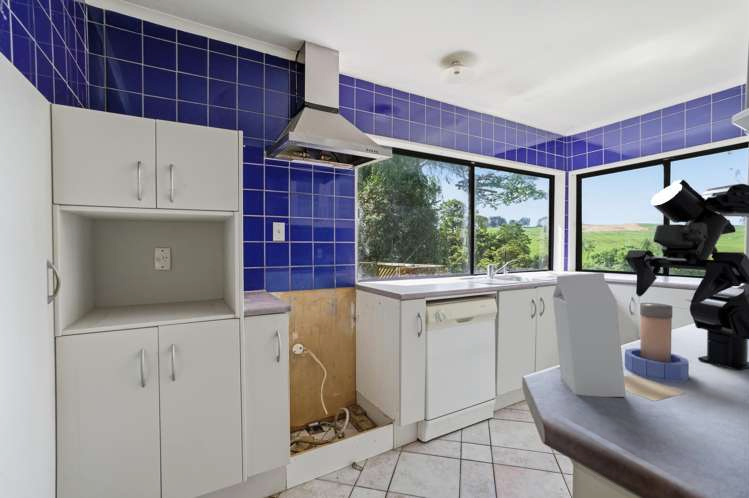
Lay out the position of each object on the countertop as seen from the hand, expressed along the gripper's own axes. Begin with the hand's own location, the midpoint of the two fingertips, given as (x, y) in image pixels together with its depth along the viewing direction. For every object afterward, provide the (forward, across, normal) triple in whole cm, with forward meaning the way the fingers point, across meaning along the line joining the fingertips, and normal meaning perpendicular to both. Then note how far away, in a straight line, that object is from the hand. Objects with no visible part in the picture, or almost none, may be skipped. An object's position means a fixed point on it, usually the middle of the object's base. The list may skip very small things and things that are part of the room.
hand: (664, 298), depth 65 cm
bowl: (+13, 0, +7) cm, 14 cm away
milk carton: (+24, +1, -6) cm, 25 cm away
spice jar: (+12, 0, +6) cm, 13 cm away
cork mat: (+19, +4, 0) cm, 19 cm away
